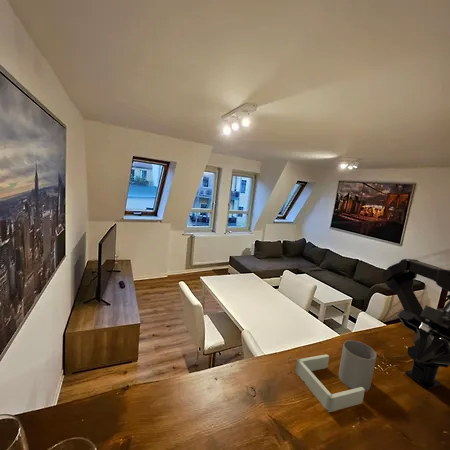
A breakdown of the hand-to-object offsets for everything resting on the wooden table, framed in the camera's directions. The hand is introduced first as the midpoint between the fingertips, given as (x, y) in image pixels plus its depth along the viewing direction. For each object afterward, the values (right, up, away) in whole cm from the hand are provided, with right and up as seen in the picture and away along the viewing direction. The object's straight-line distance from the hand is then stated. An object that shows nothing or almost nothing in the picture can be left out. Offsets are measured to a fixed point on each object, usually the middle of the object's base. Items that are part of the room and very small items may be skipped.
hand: (417, 360), depth 63 cm
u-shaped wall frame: (-20, -11, +7) cm, 24 cm away
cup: (-11, -11, +10) cm, 19 cm away
